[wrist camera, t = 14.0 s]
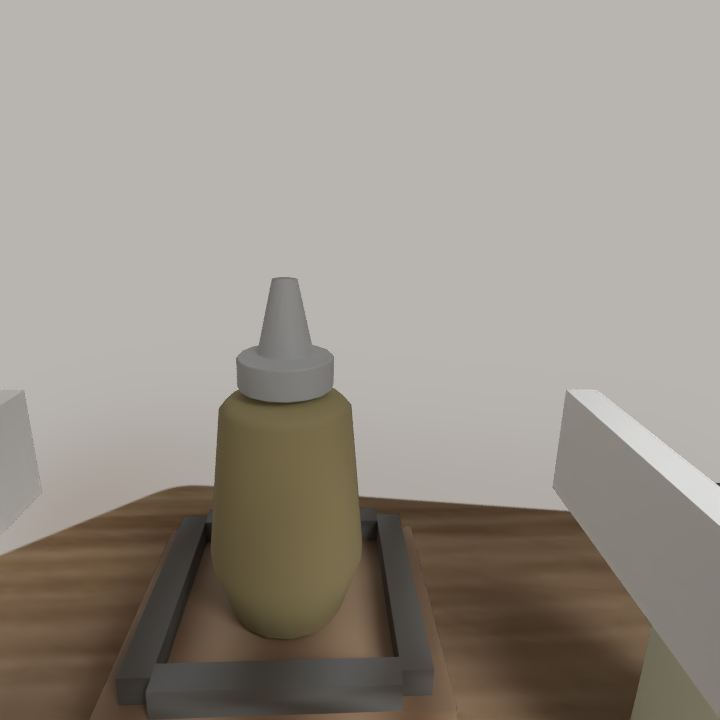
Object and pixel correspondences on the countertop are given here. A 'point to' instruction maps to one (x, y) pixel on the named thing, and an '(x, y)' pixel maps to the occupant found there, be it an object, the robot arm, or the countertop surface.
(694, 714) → the can
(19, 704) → the countertop surface
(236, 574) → the squeeze bottle
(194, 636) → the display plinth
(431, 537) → the countertop surface
